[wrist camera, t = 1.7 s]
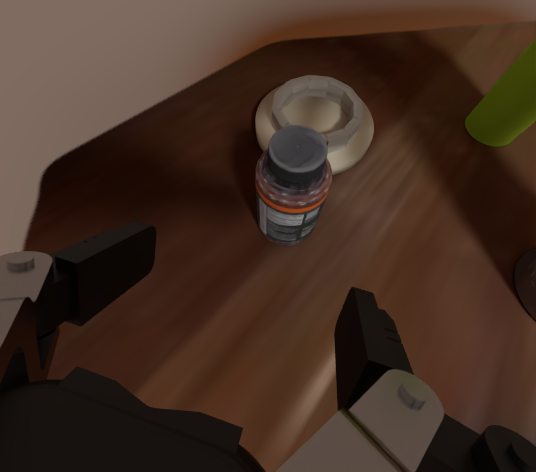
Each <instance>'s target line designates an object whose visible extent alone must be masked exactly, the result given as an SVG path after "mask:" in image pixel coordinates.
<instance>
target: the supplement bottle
mask: <svg viewBox="0 0 536 472" xmlns="http://www.w3.org/2000/svg"><path fill="white" fill-rule="evenodd" d="M327 153H328V148H327V144H326V141H325V139H324V138H323V137H322V135H321V134H320V133H318V132H317V131H316V130H314V129H312V128H309V127H307V126H303V125H290V126H286V127H283V128H281V129H279V130H278V131H276V132H275V133H274V134H273V136H272V137H271V139H270V141H269V144H268V149H267V150H266V151H265V152H264V153H263V154H262V155H261V157H260V159H259V160H258V162H257V165H256V170H255V187H256V201H257V219H258V224H259V228H260V230H261V232H262V233H263V235H264V236H265V237H266V238H267V239H268V240H270V241H271V242H273V243H275V244H278V245H283V246H292V245H296V244H299V243H301V242H303V241H304V240H305V239H307V238H308V237H309V235H310V234H311V233H312V231H313V229H314V227H315V224H316V222H317V220H318V217H319V215H320V212H321V210H322V207H323V205H324V202H325V200H326V197H327V195H328V192H329V190H330V187H331V183H332V168H331V165H330V163H329V161H328V159H327Z"/></svg>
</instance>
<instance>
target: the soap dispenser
mask: <svg viewBox="0 0 536 472" xmlns="http://www.w3.org/2000/svg"><path fill="white" fill-rule="evenodd" d="M535 121H536V38H535V39H534V40H533V42H532V43H531V44H530V45H529V46H528V47H527V48H526V50H525V51H524V52H523V53H522V54H521V55H520V56H519V58H518V59H517V60H516V61H515V62H514V63H513V65H512V66H511V67H510V68H509V69H508V70H507V71H506V73H505V74H504V75H503V76H502V77H501V78H500V79H499V81H498V82H497V83H496V84H495V85H494V86H493V87H492V89H491V90H490V91H489V92H488V93H487V94H486V95H485V97H484V98H483V99H482V100H481V101H480V102H479V104H478V105H477V106H476V107H475V108H474V109H473V110H472V112H471V113H470V114H469V115H468V116H467V118H466V120H465V127H466V129H467V131H468V133H469V134H470V135H471V136H472V137H473V138H474V139H476V140H477V141H479V142H481V143H483V144H485V145H489V146H495V147H499V146H504V145H507V144H509V143H510V142H511V141H512V140H514V139H515V138H516V137H517V136H518V135H520V134H521V133H522V132H523V131H524V130H525V129H527V128H528V127H529V126H530V125H531V124H533V123H534V122H535Z"/></svg>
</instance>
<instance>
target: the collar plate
mask: <svg viewBox="0 0 536 472" xmlns="http://www.w3.org/2000/svg"><path fill="white" fill-rule="evenodd" d="M255 123H256V137H257V141H258V143H259V146H260V148H261V149H262V151H263V152H265V151H266V150H267V149H268V144H269V141H270V139H271V137H272V136H273V134H274V133H275V132H276V131H278V130H279V129H281V128H283V127H286V126H290V125H303V126H307V127H309V128H312V129H314V130H316V131H317V132H318V133H320V134H321V135H322V137H323V138H324V139H325V141H326V144H327V148H328V153H327V159H328V161H329V163H330V165H331V168H332V175H336V174H339V173H342V172H344V171H346V170H348V169H350V168H352V167H353V166H354V165H355V164H357V163H358V162H359V161H360V160H361V159H362V157H363V156H364V154H365V152H366V151H367V149H368V147H369V145H370V143H371V140H372V137H373V133H374V124H373V119H372V116H371V113H370V111H369V109H368V108H367V106H366V105H365V104H364V103H363V101H362V100H361V99H360V98H359V97H358V96H357V95H356V93H355V92H354V91H353V89H352V88H350V86H348V85H346V84H344V83H342V82H340V81H338V80H336V79H334V78H331V79H330V77H324V76H315V75H309V76H308V75H307V76H303V77H299V78H296V79H292V80H289V81H287V82H286V83H285V84H284V85H282V86H279V87H277V88H276V89H274V90H272V91H271V92H270V93H269V94H267V95H266V97H265V98H264V99H263V100H262V101H261V103H260V105H259V107H258V109H257V112H256V119H255Z"/></svg>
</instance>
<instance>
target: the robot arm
mask: <svg viewBox="0 0 536 472" xmlns="http://www.w3.org/2000/svg"><path fill="white" fill-rule="evenodd" d="M155 245H156V229H155V227H154V226H151V225H147V224H144V223H141V222H137V221H134V222H131V223H129V224H127V225H125V226H122V227H120V228H118V229H114V230H109V231H104V232H102V233H100V234H97V235H95V236H93V238H92V237H90V238H88V239H86V240H84V241H83V242H79V243H76V244H74V245H72V246H69V247H67V248H64V249H62V250H60V251H57V252H55V253H53V254H50V255H47V254H45V253H41V252H34V251H24V252H15V253H10V254H6V255H2V256H0V472H265V470H264V469H263V468H262V466H261V465H260V464H259V463H258V461H257V460H256V459H255V458H254V457H253V456H252V455H251V454H250V453H249V452H248V451H247V450H246V449H244V448H243V447H242V446H241V445H239V441H240V437H241V433H242V430H243V428H241V427H239V426H236V425H233V424H231V423H228V422H225V421H222V420H220V419H217V418H214V417H212V416H209V415H206V414H204V413H201V412H192V411H181V410H169V409H158V408H151V407H149V406H147V405H145V404H144V403H143V402H142V401H140V400H139V399H138V398H137V397H135V396H134V395H133V394H132V393H130V392H129V391H128V390H127V389H125V388H124V387H123V386H122V385H120V384H119V383H118V382H117V381H115V380H112V379H109V378H107V377H104V376H101V375H99V374H96V373H93V372H91V371H88V370H85V369H82V368H80V367H76V368H75V369H74V370H73V371H71V372H70V373H69V374H68V375H67V376H66V377H65V378H64V379H63V380H47V377H48V373H49V370H50V366H51V362H52V359H53V355H54V351H55V348H56V344H57V340H58V337H59V332H60V330H59V325H60V324H62V323H63V322H64V321H66V322H69V323H72V324H75V325H78V326H80V327H81V326H82V325H83V324H85V323H86V322H87V321H89V320H90V319H91V318H92V317H94V316H95V315H96V314H98V313H99V312H100V311H102V310H103V309H104V308H105V307H107V306H108V305H109V304H111V303H112V302H113V301H114V300H116V299H117V298H118V297H120V296H121V295H122V294H123V293H125V292H126V291H127V290H129V289H130V288H131V287H133V286H134V285H135V284H136V283H138V282H139V281H140V280H142V279H143V278H144V277H145V276H147V275H148V274H149V273H150V271H151V269H152V267H153V265H154V260H155ZM514 280H515V287H516V290H517V292H518V295H519V298H520V299H521V301H522V303H523V305H524V307H525V308H526V309H527V311H528V312H529V313H530V315H531V316H532V317H533V318H534V319H535V320H536V248H535V249H532V250H529V251H528V252H526V253H525V254H523V255H522V257H521V258H520V259H519V260H518V262H517V265H516V267H515V273H514ZM334 338H335V359H336V380H337V401H338V412H337V413H336V414H335V415H334V416H333V417H332V418H331V419H330V420H329V421H327V422H326V423H325V424H324V425H323V426H322V427H321V428H320V429H319V430H318V431H317V432H316V433H315V434H314V435H313V436H312V437H311V438H310V439H309V440H308V441H307V442H306V443H305V444H304V445H303V446H302V447H301V448H300V449H299V450H298V451H297V452H296V453H295V454H294V455H293V456H292V457H290V458H289V459H288V460H287V461H286V462H285V463H284V464H283V465H282V466H281V467H280V468H279V469H278V470H277V471H276V472H536V446H534V445H533V444H532V443H531V442H529V441H528V440H527V439H525V438H524V437H522V436H521V435H519V434H518V433H516V432H514V431H512V430H510V429H508V428H505V427H502V426H498V425H491V426H488V427H487V428H486V429H485V431H484V432H483V433H482V434H481V435H480V434H478V433H476V432H475V431H473V430H471V429H469V428H468V427H466V426H464V425H463V424H461V423H459V422H458V421H456V420H454V419H453V418H451V417H449V416H448V415H446V414H445V413H444V410H443V406H442V404H441V402H440V400H439V398H438V397H437V395H436V394H435V393H434V392H433V390H432V389H431V388H430V387H429V386H428V385H427V384H425V383H424V382H423V381H422V380H420V379H419V378H418V377H416V376H414V374H413V371H412V368H411V366H410V363H409V360H408V358H407V355H406V352H405V350H404V347H403V344H401V339H400V336H399V334H398V331H397V328H396V326H395V323H394V321H393V320H392V318H391V317H390V316H389V315H388V314H387V313H386V311H385V310H382V309H379V308H378V306H377V303H376V300H375V297H374V294H373V293H372V292H368V291H365V290H362V289H358V288H355V287H352V288H351V289H350V291H349V293H348V295H347V298H346V300H345V303H344V305H343V308H342V310H341V312H340V315H339V317H338V320H337V323H336V327H335V334H334Z"/></svg>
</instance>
